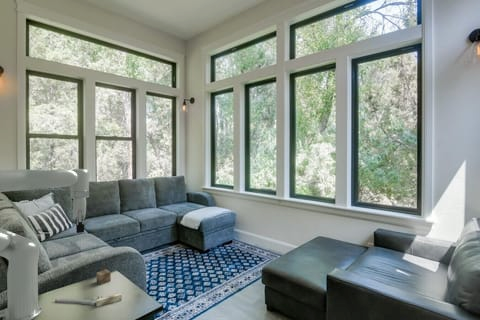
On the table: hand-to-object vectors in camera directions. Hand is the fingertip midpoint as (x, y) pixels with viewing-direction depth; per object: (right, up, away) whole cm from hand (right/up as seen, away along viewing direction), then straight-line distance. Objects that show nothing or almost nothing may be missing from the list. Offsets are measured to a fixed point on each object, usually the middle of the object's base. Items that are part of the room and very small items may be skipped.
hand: (80, 232), depth 124 cm
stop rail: (+19, -29, -9) cm, 36 cm away
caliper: (+3, -29, -5) cm, 29 cm away
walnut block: (+6, -29, +11) cm, 31 cm away
